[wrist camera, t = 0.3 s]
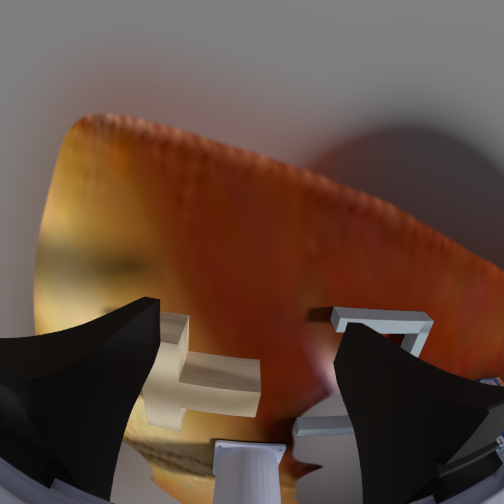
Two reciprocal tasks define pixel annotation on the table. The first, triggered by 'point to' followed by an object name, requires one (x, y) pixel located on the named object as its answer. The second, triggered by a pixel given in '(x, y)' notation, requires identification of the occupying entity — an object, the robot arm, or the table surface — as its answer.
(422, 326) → the bracket
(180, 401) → the t block
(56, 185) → the table surface
